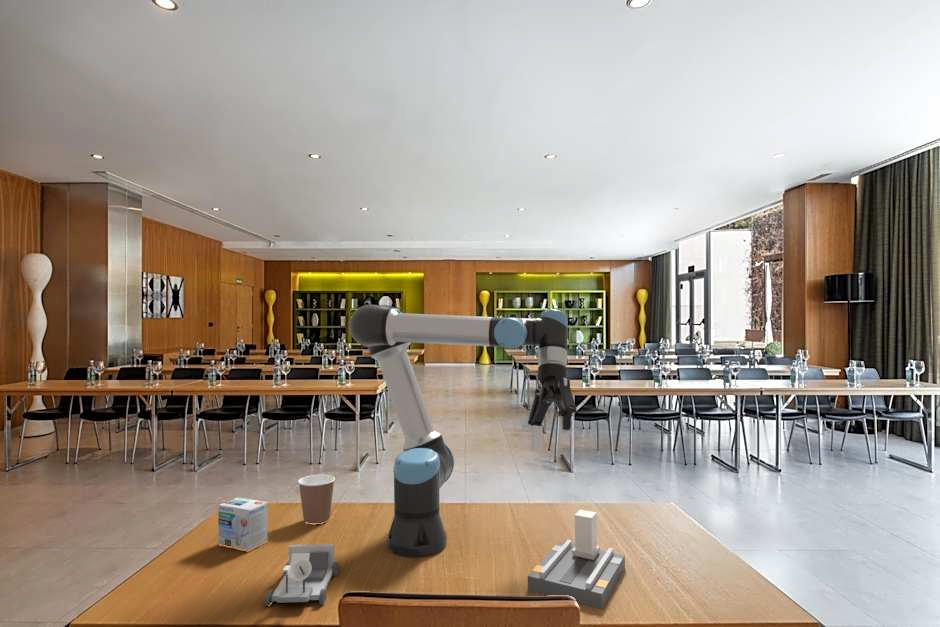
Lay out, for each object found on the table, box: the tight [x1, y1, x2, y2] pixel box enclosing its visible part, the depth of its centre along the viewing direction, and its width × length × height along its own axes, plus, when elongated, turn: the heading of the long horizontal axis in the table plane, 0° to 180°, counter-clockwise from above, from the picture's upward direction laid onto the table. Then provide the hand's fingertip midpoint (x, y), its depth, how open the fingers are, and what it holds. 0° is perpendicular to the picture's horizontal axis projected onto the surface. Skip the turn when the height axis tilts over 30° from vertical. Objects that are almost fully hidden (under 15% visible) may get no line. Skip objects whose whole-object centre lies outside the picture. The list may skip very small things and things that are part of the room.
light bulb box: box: [217, 497, 269, 550], centre depth 139 cm, size 11×7×11 cm, turn 68°
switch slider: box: [572, 509, 601, 560], centre depth 125 cm, size 5×5×9 cm
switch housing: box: [527, 539, 626, 610], centre depth 119 cm, size 16×20×4 cm
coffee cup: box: [297, 474, 336, 523], centre depth 155 cm, size 10×10×12 cm
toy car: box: [264, 543, 339, 606], centre depth 114 cm, size 18×10×12 cm
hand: (549, 448), depth 133 cm, fingers open, 13 cm apart
